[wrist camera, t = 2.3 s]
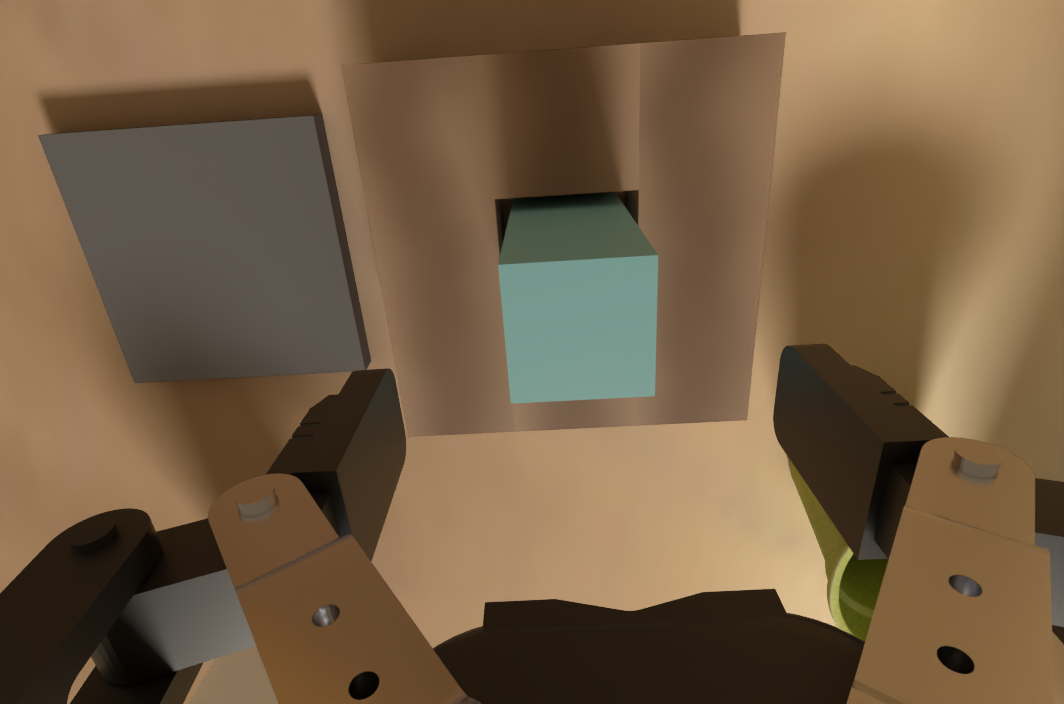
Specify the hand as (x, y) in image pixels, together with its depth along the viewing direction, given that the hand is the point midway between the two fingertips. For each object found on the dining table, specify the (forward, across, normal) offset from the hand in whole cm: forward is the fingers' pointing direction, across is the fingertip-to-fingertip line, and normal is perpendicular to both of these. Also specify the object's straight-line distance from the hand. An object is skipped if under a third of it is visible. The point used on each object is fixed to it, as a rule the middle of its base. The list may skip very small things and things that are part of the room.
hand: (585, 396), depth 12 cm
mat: (+15, +15, 0) cm, 21 cm away
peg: (+14, 0, 0) cm, 14 cm away
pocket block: (+14, 0, 0) cm, 15 cm away
